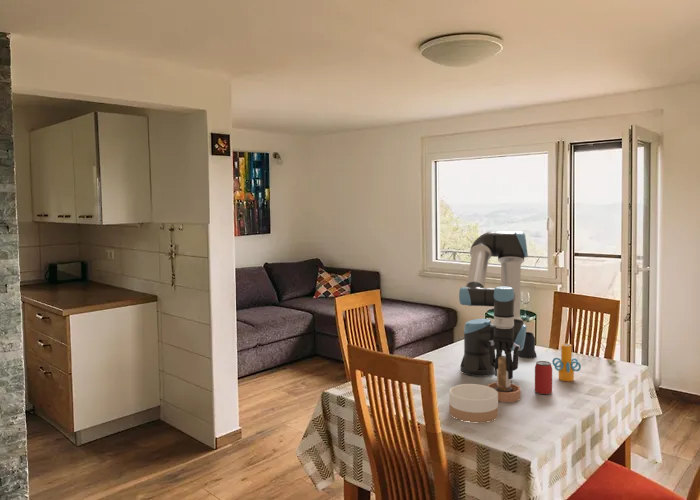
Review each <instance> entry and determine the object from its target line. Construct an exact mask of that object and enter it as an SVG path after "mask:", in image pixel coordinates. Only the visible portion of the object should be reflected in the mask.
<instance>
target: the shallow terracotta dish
mask: <svg viewBox="0 0 700 500" xmlns="http://www.w3.org/2000/svg"><path fill="white" fill-rule="evenodd" d="M486 386H488V387H491V388H493V389H495V388H497V387H498V385H497V381H495V382H490V383H489V384H487V385H486ZM510 388H513V392H509V393H508V392H498V391H497V392H498V402H499V401H500V402H499V403H501V402H502V403H513V402H518V401H519V400H521V399H522V395H521V394H522V391H521V386H520V385H517V384H516V383H511V386H510Z"/></svg>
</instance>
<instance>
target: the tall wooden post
mask: <svg viewBox="0 0 700 500" xmlns="http://www.w3.org/2000/svg"><path fill="white" fill-rule="evenodd" d="M507 370H508V369H507V362H506V355H502V356H500V357H498V389H499V390H503V391H507V390H509V387H508V388H507V387H506V371H507Z"/></svg>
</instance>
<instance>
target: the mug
mask: <svg viewBox="0 0 700 500" xmlns="http://www.w3.org/2000/svg"><path fill="white" fill-rule="evenodd" d="M535 337H536V336H535V335H534V333H533V332H530V331H526V337H525V343H524V347H523V349H522V350H521V351H519V358H523V359H535V358H537V357H538V356H537V353H536V350H535V349H536V338H535Z"/></svg>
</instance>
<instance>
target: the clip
mask: <svg viewBox="0 0 700 500" xmlns="http://www.w3.org/2000/svg"><path fill="white" fill-rule="evenodd" d="M495 390H496V391H498V392H508V393H509V392H513V388H510V387H509V390H507V391H503V390H499V389H498V387H497V388H495Z"/></svg>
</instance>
